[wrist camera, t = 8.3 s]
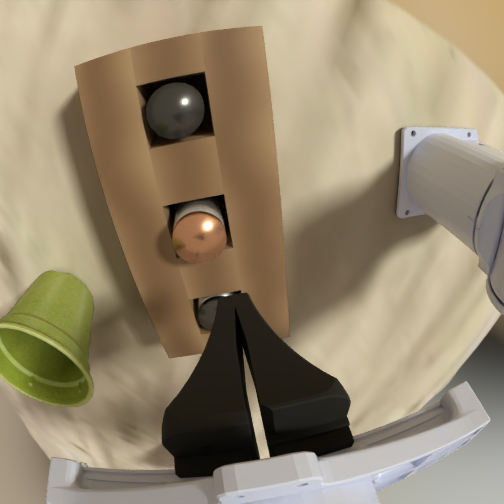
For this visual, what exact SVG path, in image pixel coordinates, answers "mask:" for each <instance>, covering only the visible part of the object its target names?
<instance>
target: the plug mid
mask: <svg viewBox="0 0 504 504" xmlns="http://www.w3.org/2000/svg"><path fill="white" fill-rule="evenodd" d="M226 242H227V237H226V231H225V226H224V221H223V216H222V210H221V206H220V204H219V202H218V201H217V200H216V199H215V198H214V197H213V196H211V197H206V198H201V199H196V200H190V201H185V202H180V203H178V205H177V208H176V213H175V220H174V228H173V236H172V244H173V248H174V250H175V252H176V253H177V254H178V255H179V256H180V257H181V258H182V259H184V260H185V261H187V262H190V263H195V264H203V263H208V262H211V261H213V260H215V259H216V258H217V257H219V256H220V255H221V254H222V252H223V251H224V249H225V246H226Z"/></svg>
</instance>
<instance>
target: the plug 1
mask: <svg viewBox="0 0 504 504" xmlns="http://www.w3.org/2000/svg"><path fill="white" fill-rule="evenodd" d="M146 117H147V121H148V123H149V125H150V127H151V128H152V130H153V131H154V132H155V133H157V134H158V135H160V136H162V137H165V138H169V139H179V138H183V137H186V136H188V135H190V134H191V133H193V132H194V131H195V130H196V129H197V128H198V127H199V125H200V124H201V122H202V120H203V117H204V102H203V98H202V95H201V94H200V92H199V91H198V90H197V89H196V88H195V87H194V86H192V85H190V84H187V83H170V84H166V85H164V86H162V87H160V88H159V89H157V90H156V91H155V92H154V93H153V94H152V96H151V97H150V99H149V101H148V103H147V107H146Z"/></svg>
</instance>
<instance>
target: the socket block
mask: <svg viewBox="0 0 504 504" xmlns="http://www.w3.org/2000/svg"><path fill="white" fill-rule="evenodd" d="M74 67H75V73H76V79H77V85H78V90H79V96H80V101H81V106H82V111H83V115H84V120H85V124H86V129H87V133H88V137H89V141H90V145H91V149H92V153H93V157H94V161H95V164H96V168H97V172H98V175H99V179H100V182H101V185H102V189H103V192H104V195H105V199H106V202H107V205H108V208H109V211H110V214H111V217H112V220H113V223H114V226H115V229H116V232H117V235H118V238H119V241H120V244H121V246H122V249H123V252H124V254H125V257H126V260H127V262H128V265H129V268H130V270H131V273H132V275H133V278H134V280H135V283H136V285H137V288H138V290H139V293H140V295H141V298H142V300H143V302H144V305H145V307H146V309H147V312H148V314H149V316H150V318H151V321H152V323H153V325H154V327H155V329H156V332H157V334H158V336H159V338H160V340H161V342H162V344H163V347H164V349H165V351H166V353H167V355H168V357H169V358H175V357H182V356H189V355H195V354H202V353H203V351H204V349H205V346H206V344H207V341H208V338H209V336H210V333H211V331H210V330H207V329H206V328H204V327H203V326H202V325H201V323H200V321H199V310H198V298H201V297H206V296H212V295H217V294H223V293H228V292H234V291H239V290H240V293H248V294H249V296H250V298H251V300H252V302H253V304H254V305H255V307H256V308H257V310H258V312H259V313H260V314H261V316H262V317H263V318H264V320H265V321H266V322H267V324H268V325H269V326H270V327H271V328H272V330H273V331H274V332H275V333H276V334H277V335H278V336H279V337H280V338H285V337H290V335H289V316H288V298H287V281H286V265H285V250H284V236H283V223H282V210H281V198H280V186H279V175H278V164H277V153H276V143H275V132H274V123H273V113H272V104H271V95H270V86H269V77H268V69H267V60H266V52H265V44H264V36H263V29H262V26H254V27H242V28H232V29H223V30H215V31H208V32H201V33H195V34H189V35H184V36H179V37H174V38H169V39H164V40H160V41H155V42H151V43H147V44H143V45H139V46H135V47H132V48H128V49H125V50H121V51H118V52H115V53H111V54H108V55H105V56H102V57H99V58H96V59H93V60H90V61H88V62H85V63H82V64H80V65H77V66H74ZM199 74H204V78H205V84H206V91H207V98H208V104H209V111H210V117H211V124H212V126H208V127H203V128H197V129H196V130H195V131H194V132H193V133H191V134H190V135H188V136H186V137H183V138H179V139H169V138H165V137H162V136H159V137H158V135H157V133H155V132H154V131H153V130H152V128H151V127H150V125H149V123H148V121H147V117H146V107H147V103H148V101H149V99H150V92H149V87H148V85H151V84H155V83H159V82H164V81H168V80H173V79H178V78H183V77H188V76H193V75H199ZM222 194H223V198H224V204H225V210H226V215H227V220H225V221H224V226H225V231H226V237H227V242H226V246H225V249H224V251H223V252H222V254H221V255H220V256H219V257H217V258H216V259H215V260H213V261H211V262H208V263H203V264H195V263H190V262H187V261H185V260H184V259H182V258H181V257H180V256H179V255H178V254H177V253H176V252H175V250H174V248H173V244H172V236H173V228H174V220H175V211H174V206H173V204H175V203H180V202H185V201H190V200H196V199H201V198H206V197H211V196H217V195H222ZM242 346H243V345H242Z"/></svg>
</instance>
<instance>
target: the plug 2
mask: <svg viewBox="0 0 504 504" xmlns="http://www.w3.org/2000/svg"><path fill="white" fill-rule="evenodd" d="M234 294H237V292H236V291H234V292H228V293H223V294H217V295H212V296H206V297H201V298H198V310H199V321H200V323H201V325H202V326H203V327H204V328H206V329H207V330H210V331H211V330H212V326H213V323H214V319H215V315H216V310H217V303H218V298H219V297H223V296H229V295H234Z"/></svg>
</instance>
